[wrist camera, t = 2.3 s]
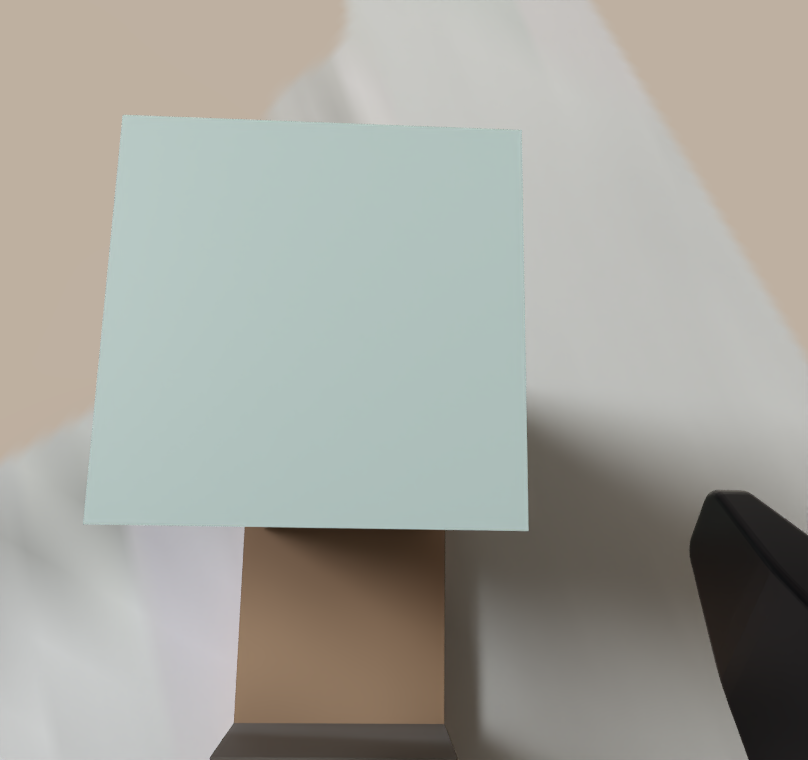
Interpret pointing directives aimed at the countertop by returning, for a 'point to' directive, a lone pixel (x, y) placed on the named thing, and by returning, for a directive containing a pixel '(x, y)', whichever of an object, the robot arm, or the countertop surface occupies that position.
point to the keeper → (313, 328)
